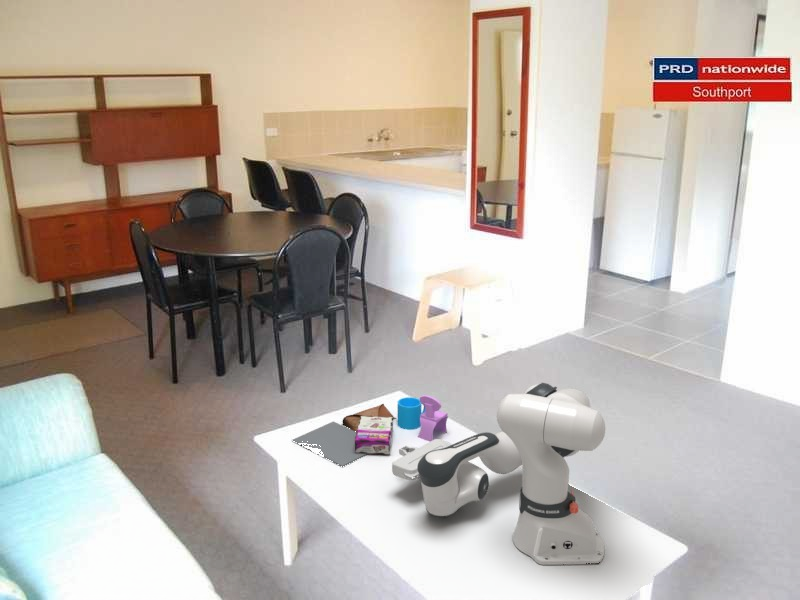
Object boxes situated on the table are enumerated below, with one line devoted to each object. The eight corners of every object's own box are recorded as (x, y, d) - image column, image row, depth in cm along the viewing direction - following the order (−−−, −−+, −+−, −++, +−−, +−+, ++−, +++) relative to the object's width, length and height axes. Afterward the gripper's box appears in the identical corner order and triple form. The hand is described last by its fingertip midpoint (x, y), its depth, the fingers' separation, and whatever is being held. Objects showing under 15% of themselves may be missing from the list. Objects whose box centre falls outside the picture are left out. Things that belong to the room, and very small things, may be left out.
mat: (383, 446, 225) (383, 444, 225) (342, 467, 212) (342, 465, 212) (333, 422, 240) (333, 421, 240) (292, 441, 228) (291, 439, 228)
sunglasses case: (357, 433, 233) (350, 414, 234) (346, 437, 238) (340, 418, 239) (398, 418, 244) (392, 400, 245) (387, 421, 249) (381, 403, 250)
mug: (408, 432, 234) (408, 409, 232) (392, 423, 240) (392, 401, 238) (434, 421, 242) (434, 399, 240) (418, 413, 248) (418, 392, 245)
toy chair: (450, 433, 233) (451, 391, 229) (435, 443, 227) (436, 401, 222) (430, 426, 238) (430, 385, 234) (414, 436, 231) (415, 394, 227)
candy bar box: (389, 455, 219) (393, 430, 234) (389, 441, 217) (394, 416, 233) (353, 453, 219) (360, 428, 235) (353, 439, 218) (360, 415, 233)
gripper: (414, 490, 191) (377, 472, 199) (460, 462, 205) (424, 447, 214) (414, 470, 189) (377, 452, 198) (461, 443, 203) (424, 428, 212)
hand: (402, 449), depth 206 cm, fingers closed
